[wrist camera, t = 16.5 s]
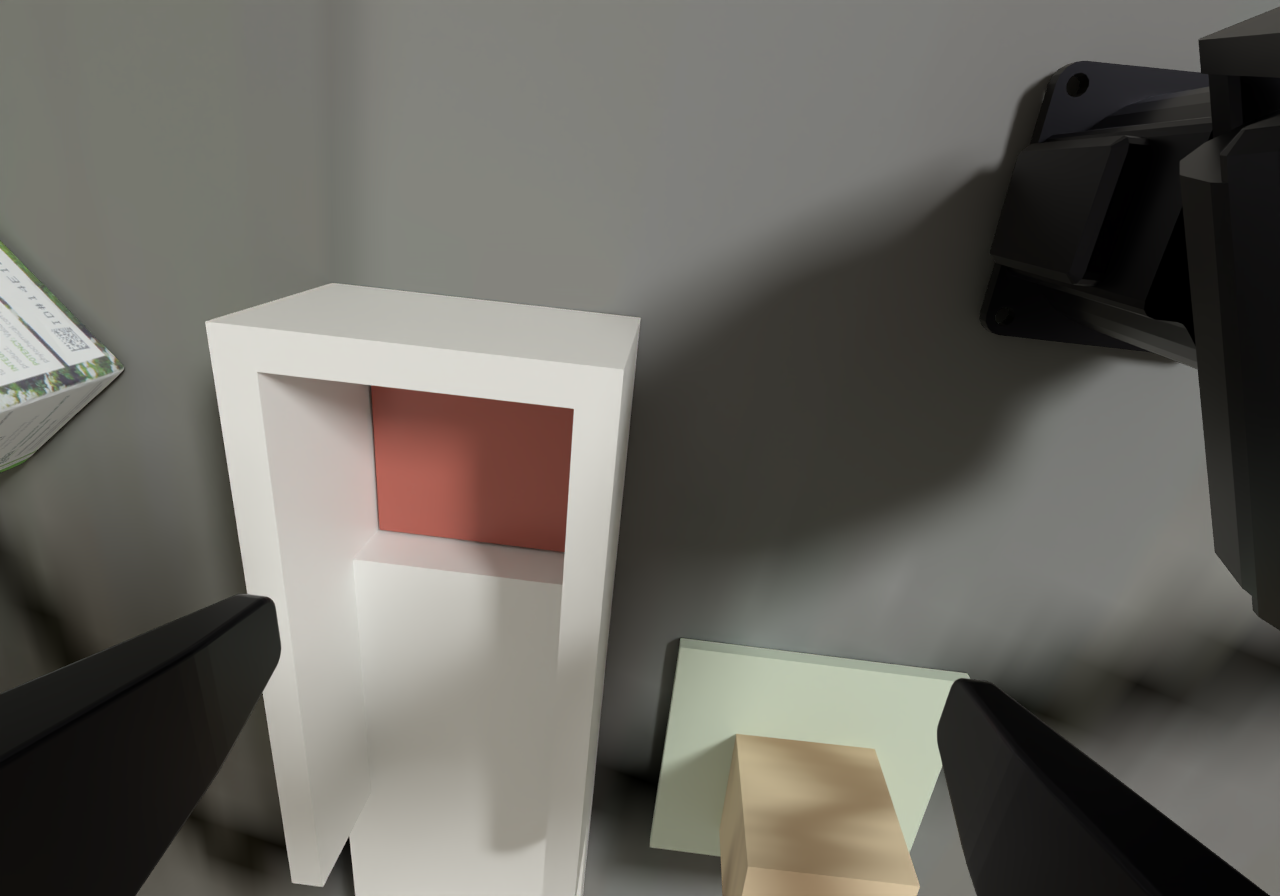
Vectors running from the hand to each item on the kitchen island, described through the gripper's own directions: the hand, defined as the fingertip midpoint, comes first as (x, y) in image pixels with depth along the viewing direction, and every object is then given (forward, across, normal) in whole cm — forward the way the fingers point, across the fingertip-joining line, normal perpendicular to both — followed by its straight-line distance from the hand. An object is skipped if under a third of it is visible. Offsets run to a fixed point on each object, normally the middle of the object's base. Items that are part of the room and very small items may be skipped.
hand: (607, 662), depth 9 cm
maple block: (+12, -7, +15) cm, 20 cm away
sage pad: (+12, -7, +14) cm, 20 cm away
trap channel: (+12, +5, +11) cm, 17 cm away
